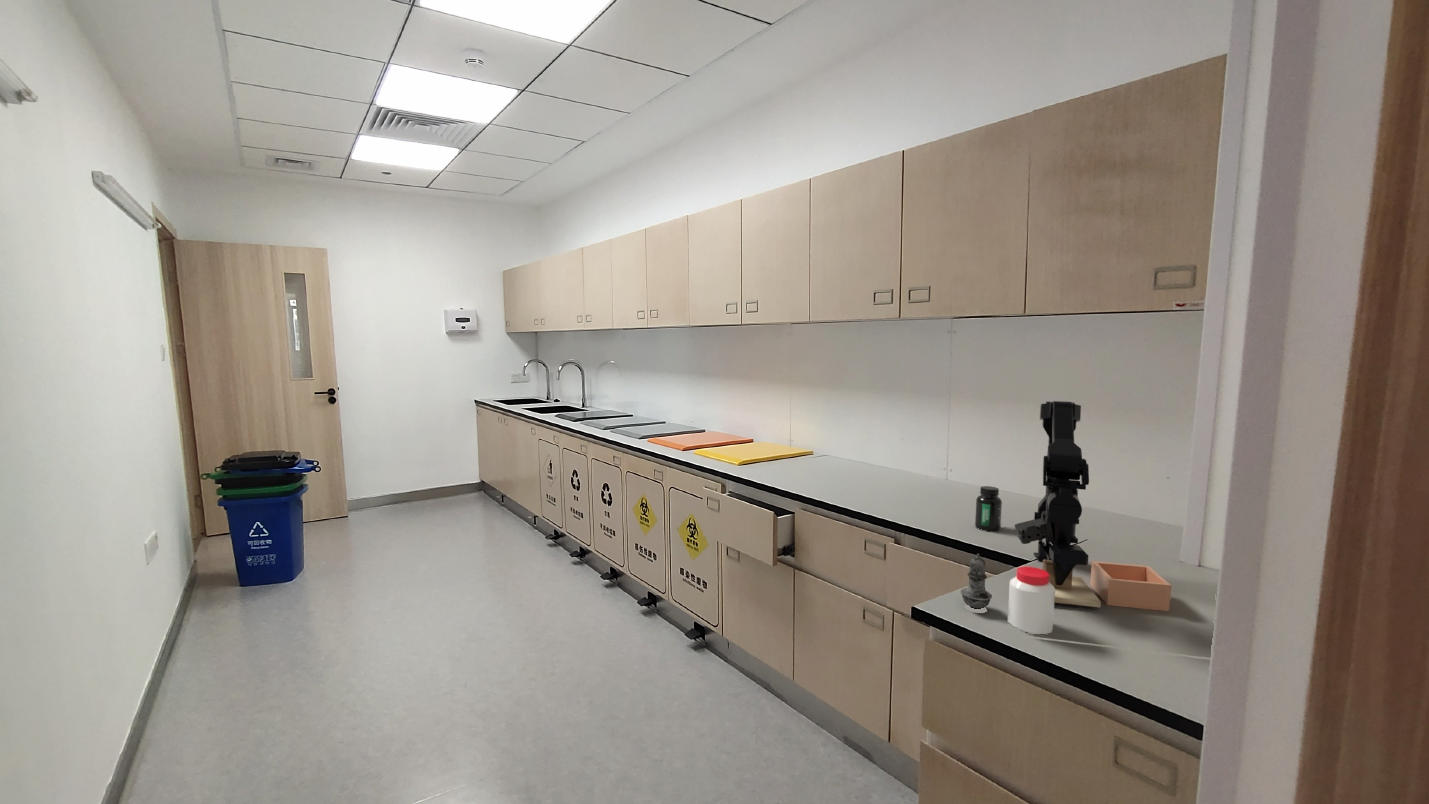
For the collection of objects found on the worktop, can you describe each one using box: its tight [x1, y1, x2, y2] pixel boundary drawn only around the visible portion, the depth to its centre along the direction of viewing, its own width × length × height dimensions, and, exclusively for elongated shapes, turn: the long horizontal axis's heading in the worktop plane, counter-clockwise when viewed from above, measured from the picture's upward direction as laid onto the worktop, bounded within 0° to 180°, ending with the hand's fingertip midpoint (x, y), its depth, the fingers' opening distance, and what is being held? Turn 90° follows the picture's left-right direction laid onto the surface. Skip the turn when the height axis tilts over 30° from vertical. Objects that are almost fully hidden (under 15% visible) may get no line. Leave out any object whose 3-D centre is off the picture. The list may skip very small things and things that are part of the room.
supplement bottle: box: [974, 485, 1003, 532], centre depth 179 cm, size 7×7×12 cm
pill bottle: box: [1007, 566, 1055, 635], centre depth 117 cm, size 8×8×11 cm
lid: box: [1042, 560, 1102, 608], centre depth 131 cm, size 13×13×6 cm
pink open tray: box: [1090, 560, 1172, 612], centre depth 131 cm, size 11×11×6 cm
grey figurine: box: [960, 553, 993, 609], centre depth 125 cm, size 6×6×12 cm
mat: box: [1054, 603, 1104, 614], centre depth 132 cm, size 14×14×1 cm
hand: (1056, 581), depth 132 cm, fingers closed on lid, 3 cm apart
